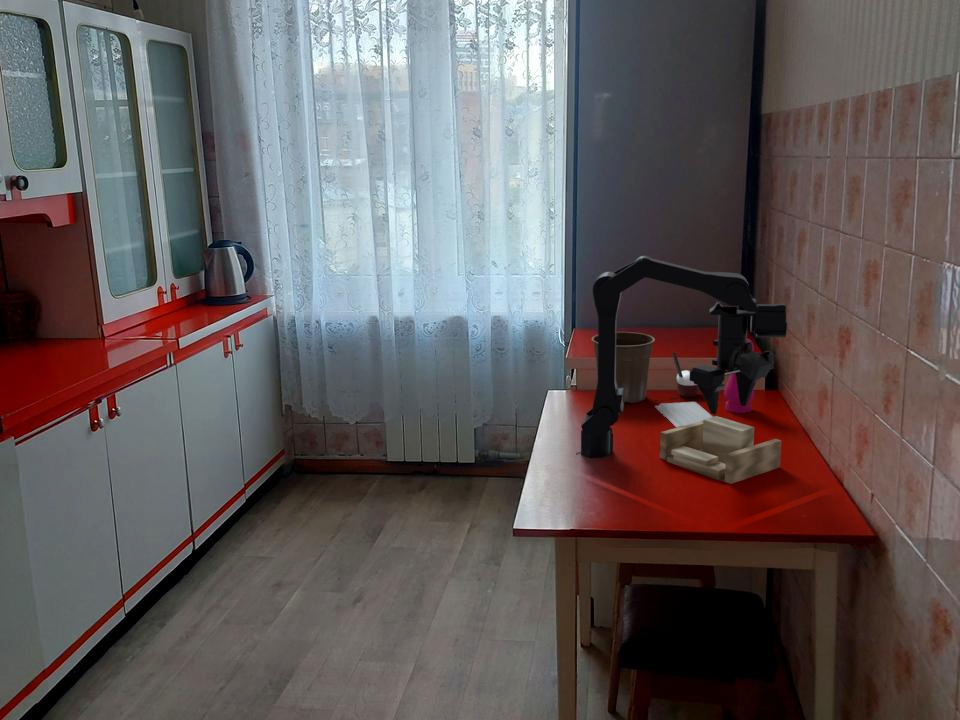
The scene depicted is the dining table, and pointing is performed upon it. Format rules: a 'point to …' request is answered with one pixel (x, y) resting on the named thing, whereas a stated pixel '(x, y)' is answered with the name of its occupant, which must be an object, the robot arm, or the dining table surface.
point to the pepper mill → (736, 395)
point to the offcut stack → (698, 462)
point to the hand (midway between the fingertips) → (728, 410)
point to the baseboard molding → (682, 412)
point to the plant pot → (631, 363)
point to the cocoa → (685, 381)
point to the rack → (737, 462)
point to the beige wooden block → (725, 437)
